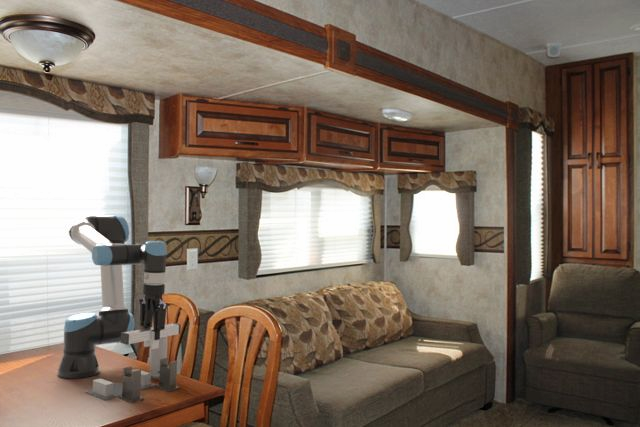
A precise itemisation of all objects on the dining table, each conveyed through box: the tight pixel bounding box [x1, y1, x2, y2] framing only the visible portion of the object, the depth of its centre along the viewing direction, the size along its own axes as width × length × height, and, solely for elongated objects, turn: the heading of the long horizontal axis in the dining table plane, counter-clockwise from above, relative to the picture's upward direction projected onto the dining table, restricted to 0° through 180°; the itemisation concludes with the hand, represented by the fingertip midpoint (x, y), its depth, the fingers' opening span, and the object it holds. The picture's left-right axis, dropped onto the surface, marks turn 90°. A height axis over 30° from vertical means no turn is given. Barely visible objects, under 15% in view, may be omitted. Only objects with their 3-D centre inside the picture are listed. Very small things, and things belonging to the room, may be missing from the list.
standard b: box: [154, 357, 181, 393], centre depth 207 cm, size 8×5×10 cm, turn 54°
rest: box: [85, 368, 158, 401], centre depth 204 cm, size 12×22×5 cm, turn 144°
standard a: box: [117, 366, 145, 404], centre depth 194 cm, size 8×5×10 cm, turn 54°
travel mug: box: [149, 336, 169, 380], centre depth 220 cm, size 6×7×20 cm
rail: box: [119, 322, 182, 345], centre depth 201 cm, size 4×24×4 cm, turn 144°
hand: (151, 347), depth 201 cm, fingers closed on rail, 3 cm apart
